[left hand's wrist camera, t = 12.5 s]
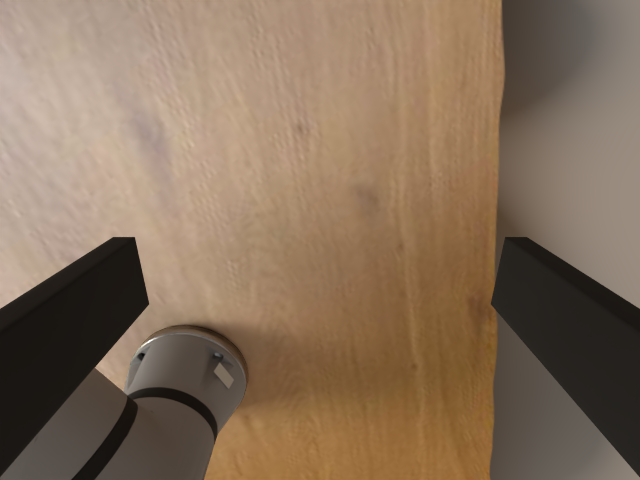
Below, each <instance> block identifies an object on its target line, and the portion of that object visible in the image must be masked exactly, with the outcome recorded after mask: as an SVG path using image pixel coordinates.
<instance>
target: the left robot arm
mask: <svg viewBox="0 0 640 480" xmlns="http://www.w3.org/2000/svg"><path fill="white" fill-rule="evenodd" d="M148 305H149V301H148V296H147V292H146V287H145V282H144V278H143V273H142V268H141V264H140V259H139V254H138V250H137V245H136V241H135V237H113V238H111V239H110V240H108V241H106V242H105V243H103V244H102V245H100V246H99V247H97V248H95V249H94V250H92V251H91V252H89V253H87V254H86V255H84V256H83V257H81V258H80V259H78V260H76V261H75V262H73V263H72V264H70V265H69V266H67V267H65V268H64V269H62V270H61V271H59V272H58V273H56V274H54V275H53V276H51V277H50V278H48V279H47V280H45V281H43V282H42V283H40V284H39V285H37V286H36V287H34V288H32V289H31V290H29V291H28V292H26V293H25V294H23V295H21V296H20V297H18V298H17V299H15V300H14V301H12V302H10V303H9V304H7V305H6V306H4V307H3V308H1V309H0V480H204V477H205V474H206V471H207V467H208V464H209V461H210V457H211V454H212V451H213V447H214V444H215V441H216V438H217V435H218V433H219V432H220V430H221V429H222V428H223V426H224V425H225V424H226V422H227V421H228V419H229V418H230V417H231V415H232V414H233V412H234V411H235V410H236V408H237V407H238V406H239V404H240V403H241V401H242V399H243V397H244V394H245V390H246V386H247V382H248V369H247V365H246V362H245V360H244V358H243V356H242V354H241V353H240V351H239V350H238V349H237V348H236V347H235V346H234V345H233V344H232V343H231V342H230V341H229V340H227V339H226V338H224V337H223V336H221V335H219V334H217V333H215V332H213V331H210V330H208V329H204V328H201V327H195V326H174V327H169V328H165V329H162V330H160V331H158V332H156V333H154V334H152V335H151V336H150V337H148V338H147V339H146V340H145V341H144V343H143V344H142V345H141V346H140V348H139V349H138V350H137V352H136V353H135V355H134V356H133V358H132V361H131V364H130V368H129V371H128V375H127V379H126V383H125V387H124V391H122V390H121V389H119V388H118V387H117V386H116V385H114V384H113V383H112V382H111V381H110V380H109V379H107V378H106V377H105V376H104V375H103V374H102V373H100V372H99V371H98V370H97V369H96V368H95V367H96V365H97V364H98V363H99V362H100V361H101V360H102V358H103V357H104V356H105V355H106V354H107V353H108V351H109V350H110V349H111V348H112V347H113V346H114V344H115V343H116V342H117V341H118V340H119V339H120V337H121V336H122V335H123V334H124V333H125V332H126V331H127V329H128V328H129V327H130V326H131V325H132V324H133V322H134V321H135V320H136V319H137V318H138V317H139V315H140V314H141V313H142V312H143V311H144V310H145V308H146V307H147V306H148ZM491 305H492V306H493V307H494V308H495V310H496V311H497V312H498V313H499V314H500V315H501V317H502V318H503V319H504V320H505V321H506V322H507V324H508V325H509V326H510V327H511V328H512V329H513V331H514V332H515V333H516V334H517V335H518V336H519V337H520V339H521V340H522V341H523V342H524V343H525V344H526V346H527V347H528V348H529V349H530V350H531V351H532V353H533V354H534V355H535V356H536V357H537V358H538V360H539V361H540V362H541V363H542V364H543V365H544V367H545V368H546V369H547V370H548V371H549V372H550V373H551V375H552V376H553V377H554V378H555V379H556V380H557V382H558V383H559V384H560V385H561V386H562V387H563V389H564V390H565V391H566V392H567V393H568V394H569V396H570V397H571V398H572V399H573V400H574V401H575V403H576V404H577V405H578V406H579V407H580V408H581V409H582V411H583V412H584V413H585V414H586V415H587V416H588V418H589V419H590V420H591V421H592V422H593V423H594V425H595V426H596V427H597V428H598V429H599V430H600V432H601V433H602V434H603V435H604V436H605V437H606V438H607V440H608V441H609V442H610V443H611V444H612V445H613V447H614V448H615V449H616V450H617V451H618V452H619V454H620V455H621V456H622V457H623V458H624V459H625V461H626V462H627V463H628V464H629V465H630V466H631V468H632V469H633V470H634V471H635V472H636V473H637V475H638V476H639V477H640V309H639V308H637V307H636V306H634V305H633V304H631V303H630V302H628V301H626V300H625V299H623V298H622V297H620V296H619V295H617V294H615V293H614V292H612V291H611V290H609V289H608V288H606V287H604V286H603V285H601V284H600V283H598V282H597V281H595V280H593V279H592V278H590V277H589V276H587V275H585V274H584V273H582V272H581V271H579V270H578V269H576V268H574V267H573V266H571V265H570V264H568V263H567V262H565V261H563V260H562V259H560V258H559V257H557V256H556V255H554V254H552V253H551V252H549V251H548V250H546V249H545V248H543V247H541V246H540V245H538V244H537V243H535V242H534V241H532V240H530V239H529V238H527V237H505V241H504V245H503V250H502V255H501V259H500V264H499V269H498V273H497V278H496V282H495V287H494V292H493V296H492V301H491Z"/></svg>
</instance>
